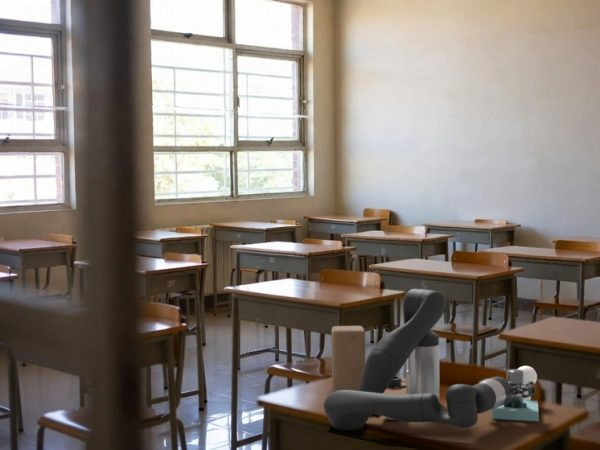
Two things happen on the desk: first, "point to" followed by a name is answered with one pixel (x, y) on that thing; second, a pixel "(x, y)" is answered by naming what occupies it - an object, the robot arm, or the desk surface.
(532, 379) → the lightbulb
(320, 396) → the desk surface
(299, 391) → the desk surface
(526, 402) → the frame
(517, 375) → the brushed steel cylinder
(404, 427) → the desk surface
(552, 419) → the desk surface
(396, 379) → the black ring with tabs
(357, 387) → the wooden block
